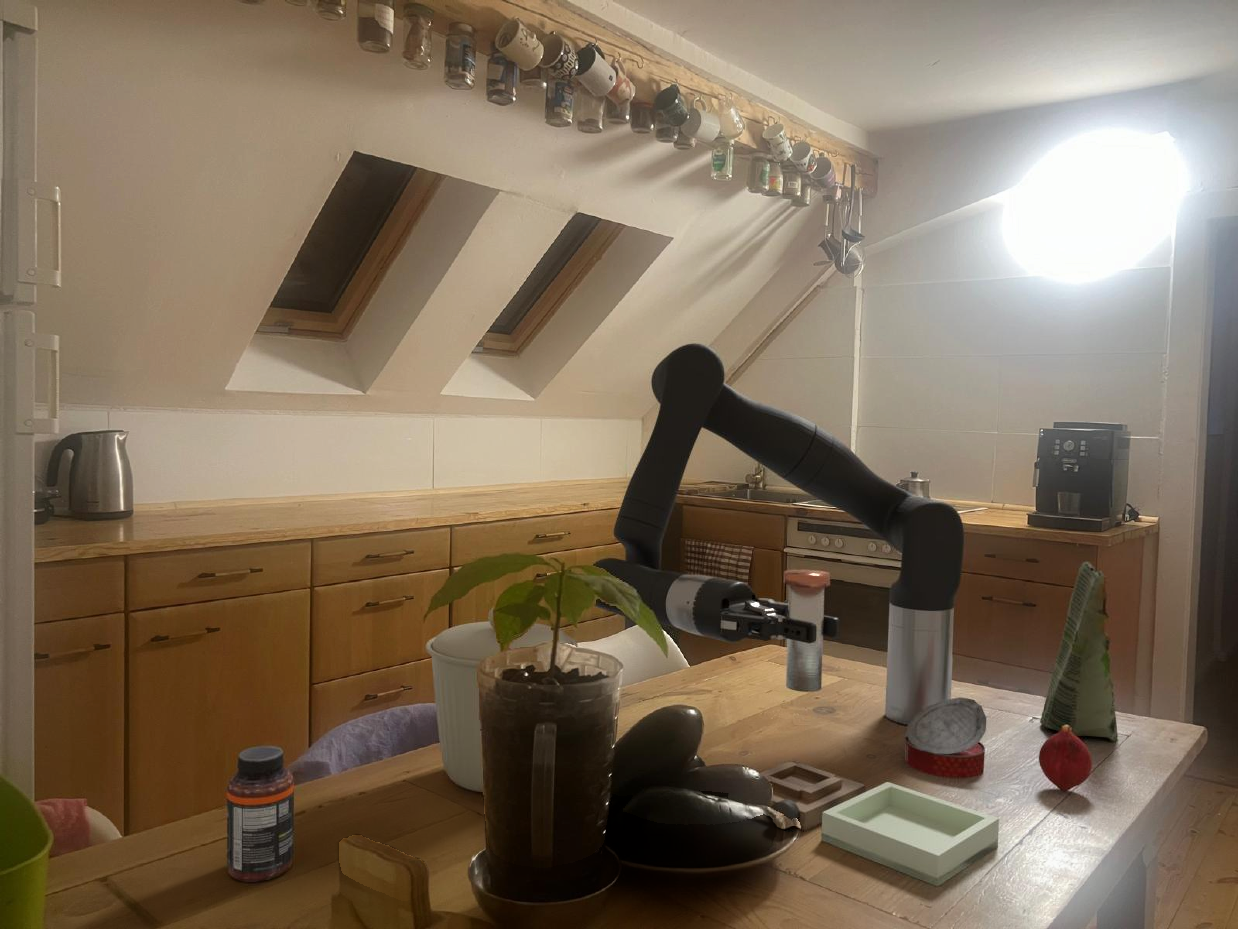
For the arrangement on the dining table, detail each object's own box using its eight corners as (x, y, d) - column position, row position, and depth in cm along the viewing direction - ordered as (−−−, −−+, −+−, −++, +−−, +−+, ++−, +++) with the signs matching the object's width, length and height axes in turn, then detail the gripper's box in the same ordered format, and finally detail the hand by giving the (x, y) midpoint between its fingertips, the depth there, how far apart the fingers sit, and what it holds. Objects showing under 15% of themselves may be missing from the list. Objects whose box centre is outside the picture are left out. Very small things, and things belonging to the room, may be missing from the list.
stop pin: (798, 678, 111) (801, 567, 110) (835, 687, 107) (839, 573, 107) (771, 686, 108) (774, 572, 107) (809, 696, 104) (813, 578, 103)
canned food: (983, 810, 119) (1007, 755, 114) (903, 797, 119) (924, 742, 114) (965, 743, 129) (986, 690, 124) (892, 732, 129) (910, 678, 124)
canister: (575, 752, 122) (579, 593, 121) (573, 809, 104) (578, 622, 103) (436, 751, 122) (439, 590, 121) (410, 808, 104) (413, 619, 103)
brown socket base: (793, 777, 116) (794, 753, 116) (864, 802, 109) (865, 776, 108) (722, 805, 106) (723, 780, 106) (795, 835, 99) (796, 807, 99)
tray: (886, 807, 107) (887, 781, 107) (997, 846, 98) (999, 818, 98) (821, 840, 98) (822, 812, 98) (937, 886, 89) (938, 855, 89)
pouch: (1072, 716, 144) (1080, 555, 143) (1145, 741, 133) (1154, 566, 132) (1020, 725, 139) (1028, 558, 138) (1091, 751, 128) (1100, 570, 127)
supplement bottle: (238, 855, 91) (239, 741, 91) (300, 854, 92) (301, 741, 91) (217, 885, 85) (218, 763, 85) (283, 884, 86) (285, 763, 86)
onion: (1096, 802, 110) (1099, 735, 110) (1044, 797, 111) (1047, 731, 111) (1082, 784, 116) (1085, 720, 116) (1032, 779, 117) (1035, 716, 117)
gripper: (672, 583, 112) (789, 605, 100) (746, 571, 122) (862, 590, 110) (671, 645, 113) (787, 675, 100) (745, 628, 123) (860, 654, 110)
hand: (825, 630), depth 105 cm, fingers closed on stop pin, 4 cm apart
